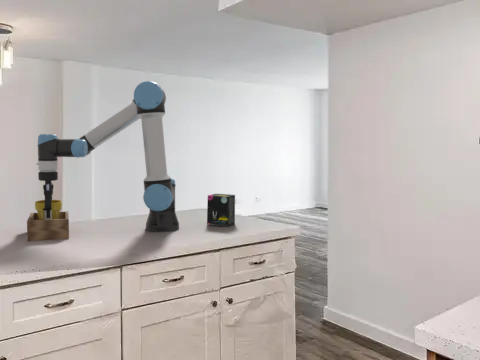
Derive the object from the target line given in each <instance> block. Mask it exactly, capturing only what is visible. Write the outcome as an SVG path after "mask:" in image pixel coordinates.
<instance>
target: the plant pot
mask: <svg viewBox="0 0 480 360" xmlns="http://www.w3.org/2000/svg"><path fill="white" fill-rule="evenodd" d="M62 206H63V202H62V200H60V199H52V201H51V207H52V209H51V210H52V219H58V218H59V213H60V212H61V210H62V208H63V207H62ZM44 207H45V199H41V200H36V201H34V208H35V210H36V213H38V216H39V220H45V210H43V208H44Z"/></svg>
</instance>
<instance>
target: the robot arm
mask: <svg viewBox="0 0 480 360" xmlns="http://www.w3.org/2000/svg"><path fill="white" fill-rule="evenodd" d="M166 97H167V95H166V92H165V91H164V89H162V87H161V86H160V84H159V83H157V82H156V81H152V80H151V81H150V80H146V81H142V82H140V83H139V84H138V85H137V86H136V87H135V88H134V91H133V99H132V101H131V103H130V104H128V105H126V107H124V108H123V109H121V110H119V111H118V112H116V113H115V114H113V115H112V116H111V117H109V118H107V119H106V120H104V121H103V122H101V123H99V125H97V126H96V127H94V128H92V129H91V130H89V131H88V132H87V133H85V134H84V135H82V136H80V138H75V139H74V138H66V139H65V138H62V139H61V138H58V135H57V134H56V133H55V134H54V133H51V134H50V133H41V134H39V135H38V137H37V157H38V158H37V161H38V162H36V166H38V169H37V170H38V173H37V175H38V176H37V177H38V180H39V181H40V182H42V181H43V182H45V183H44V184H43V185H42V189H43V195H44V200H45V207H44V208H43V210H45V220H51V219H52V210H51V209H52V207H51V201H52V200H53V194H54V184H53V182H52V181H55V182H56V181H58V180H59V175H58V174H59V172H58V170H59V168H58V166H59V163H58V162H59V161H58V158H76V159H77V158H85V157H87V156H88V155H90V154H91V152H93V151H94V150H95V149H97V148H98V147H100V146H101V145H102V144H104V143H105V142H107V141H108V140H111V139H112V138H113V137H114V136H116V135H118V134H119V133H120V132H122V131H124V130H125V129H126V128H128V127H129V126H131V125H133V124H134V123H136V122H137V121H138V120H141V129H142V139H143V151H144V160H145V170H146V173H145V174H146V175H145V178H144V179H143V190H144V192H143V197H142V199H143V202H144V205H145V206H146V207H147V209H148V210H149V213H148V216H147V219H146V222H145V230H146V231H150V232H171V231H173V232H174V231H177V230H179V229H180V223H179V220H178V216H177V213H176V186H177V185H176V180H175V179H174V178H172V177H171V176H170V175H169V174H168V169H167V161H166V160H167V158H166V157H167V156H166V147H165V135H164V134H165V133H164V126H163V118H164V116H165V114H166V107H165V105H166V99H167V98H166Z"/></svg>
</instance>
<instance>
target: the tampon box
mask: <svg viewBox="0 0 480 360" xmlns="http://www.w3.org/2000/svg"><path fill="white" fill-rule="evenodd" d="M206 209H207V211H206V213H207V215H206V218H207V219H206V225H207V226H211V227H212V226H215V227H222V226H224V227H223V228H228V227H230V226H234V225H235V223H236V221H235V220H236V194H230V193H229V194H227V193H226V194H225V193H224V194H223V193H213V194H208V195H207V208H206ZM227 226H228V227H227Z"/></svg>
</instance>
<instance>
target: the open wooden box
mask: <svg viewBox="0 0 480 360" xmlns="http://www.w3.org/2000/svg"><path fill="white" fill-rule="evenodd" d="M69 217H70V216H69V211H67V210H66V211H60V213H59V218H58V219H51V220H39V216H38V212H30V214H29V216H28V218H27V220H26V231H27V233H26V236H27V240H26V241H27V242H34V241H49V240H51V241H52V240H66V239H70V229H69V228H70V226H69V224H70V222H69V221H70V220H69Z"/></svg>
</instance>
